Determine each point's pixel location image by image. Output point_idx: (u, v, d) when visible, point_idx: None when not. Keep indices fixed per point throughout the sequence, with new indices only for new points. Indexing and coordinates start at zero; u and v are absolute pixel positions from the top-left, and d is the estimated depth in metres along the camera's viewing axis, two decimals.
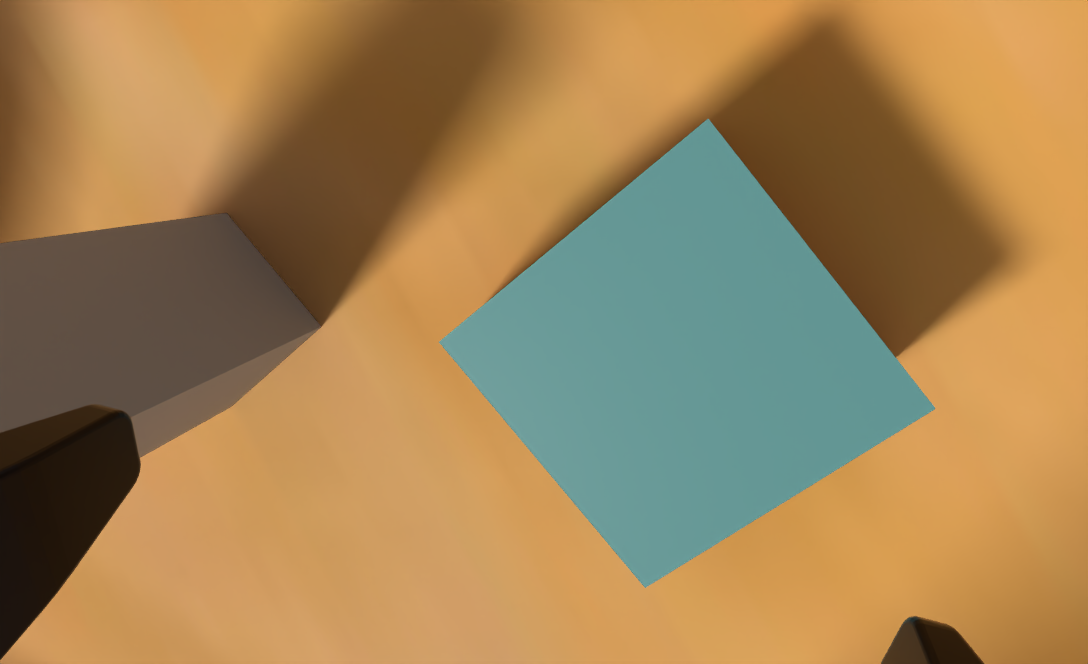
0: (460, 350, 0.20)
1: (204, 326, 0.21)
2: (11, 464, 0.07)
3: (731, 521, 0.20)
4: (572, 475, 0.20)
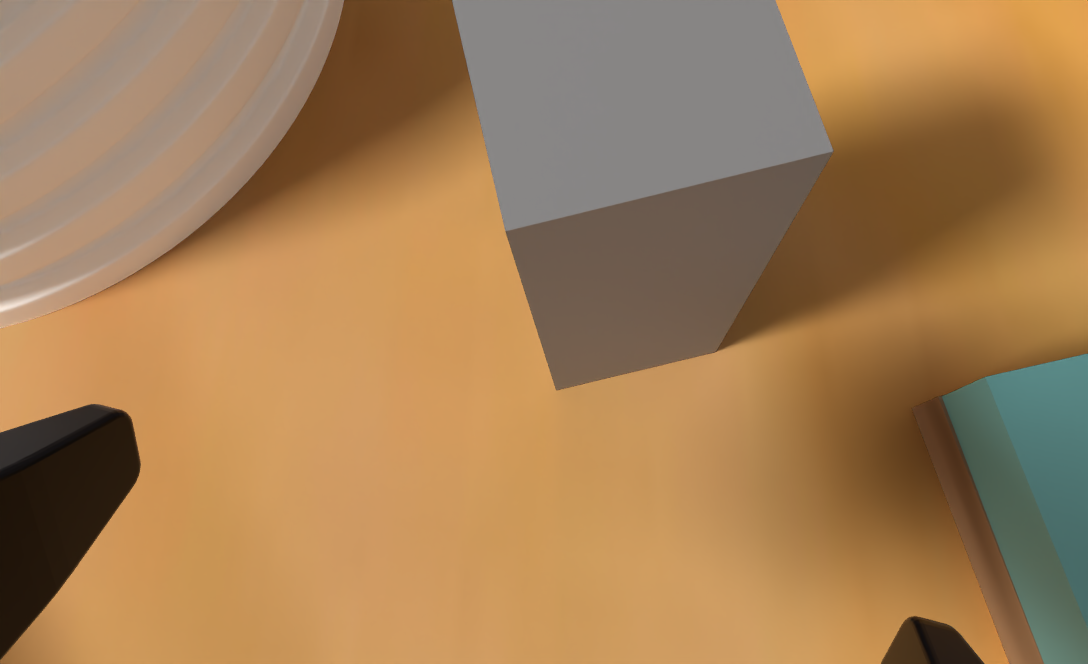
0: (1007, 395, 0.17)
1: None
2: (11, 464, 0.07)
3: None
4: None
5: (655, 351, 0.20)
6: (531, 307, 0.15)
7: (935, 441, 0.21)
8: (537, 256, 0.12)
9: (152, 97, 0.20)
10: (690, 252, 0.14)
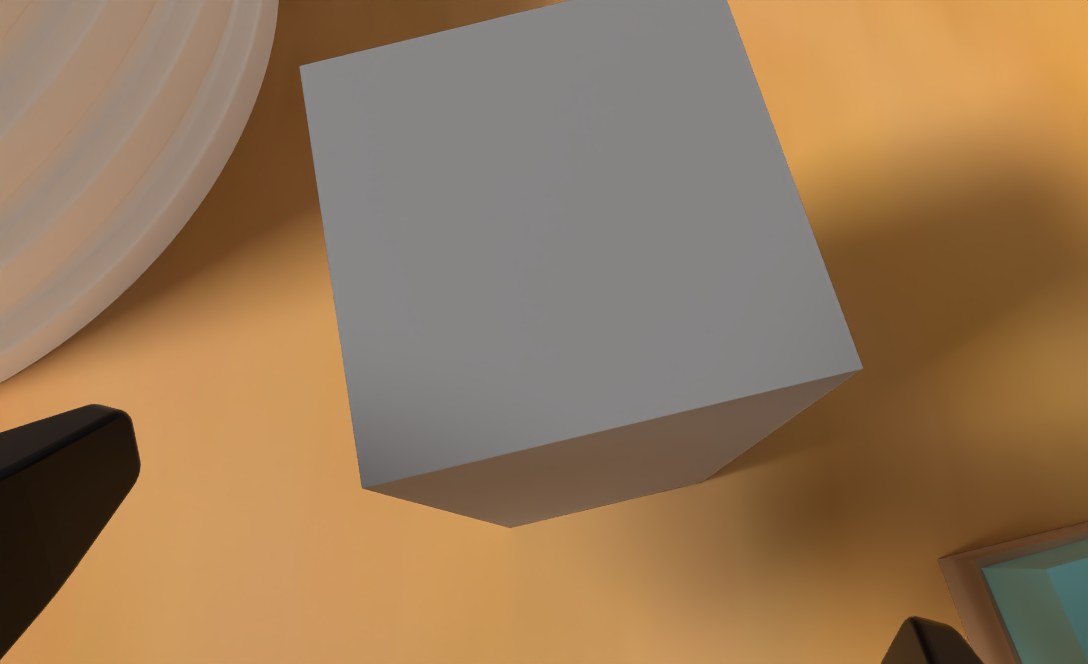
0: (1076, 595, 0.13)
1: None
2: (11, 464, 0.07)
3: None
4: None
5: (627, 494, 0.17)
6: (444, 509, 0.11)
7: (970, 608, 0.17)
8: (428, 490, 0.08)
9: (4, 185, 0.16)
10: (656, 451, 0.10)
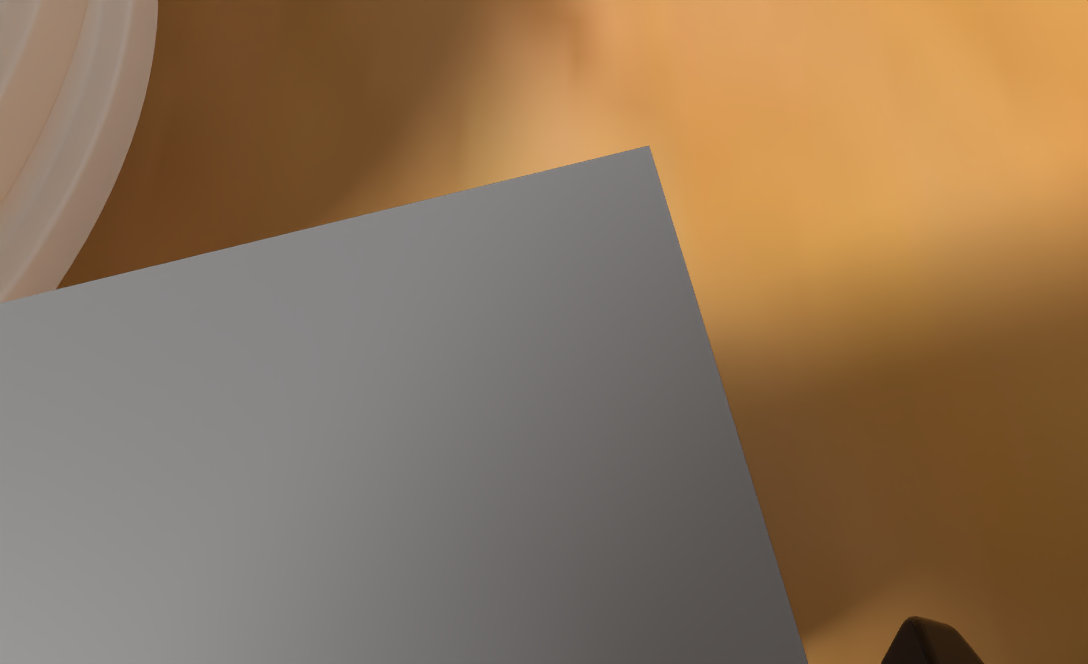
0: None
1: None
2: None
3: None
4: None
5: None
6: None
7: None
8: None
9: None
10: None
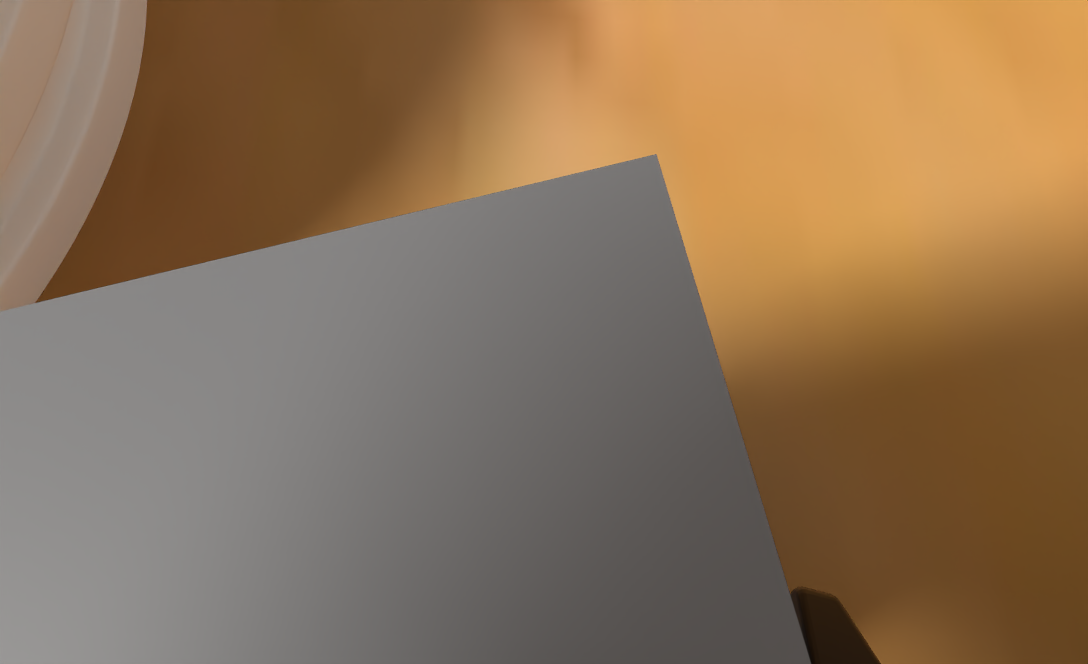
0: None
1: None
2: None
3: None
4: None
5: None
6: None
7: None
8: None
9: None
10: None
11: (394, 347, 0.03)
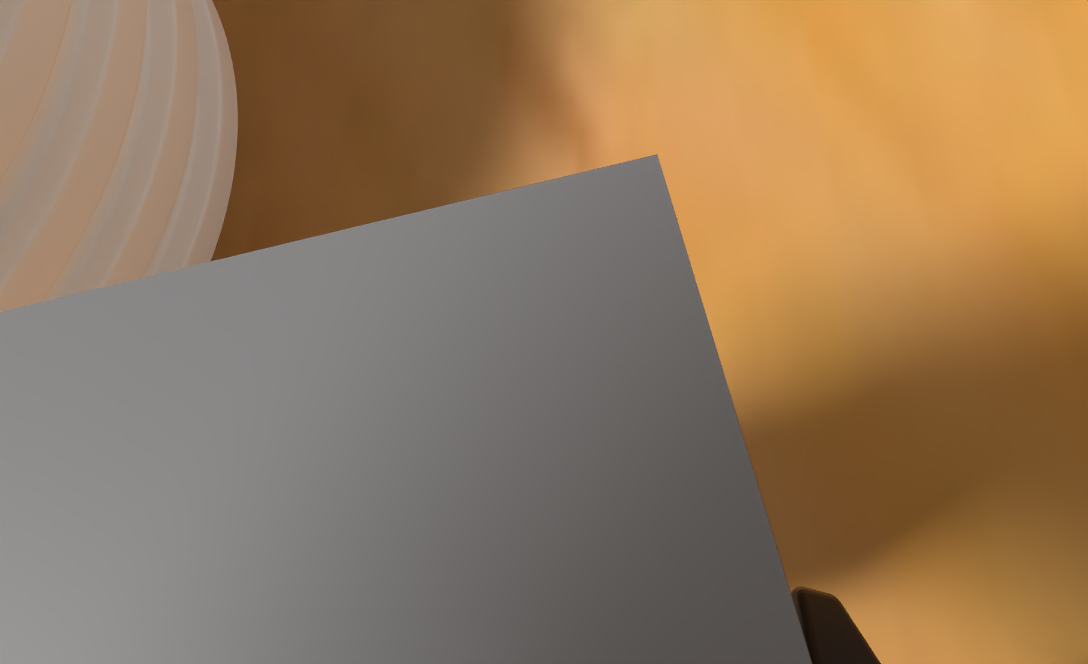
0: None
1: None
2: None
3: None
4: None
5: None
6: None
7: None
8: None
9: None
10: None
11: (397, 346, 0.03)
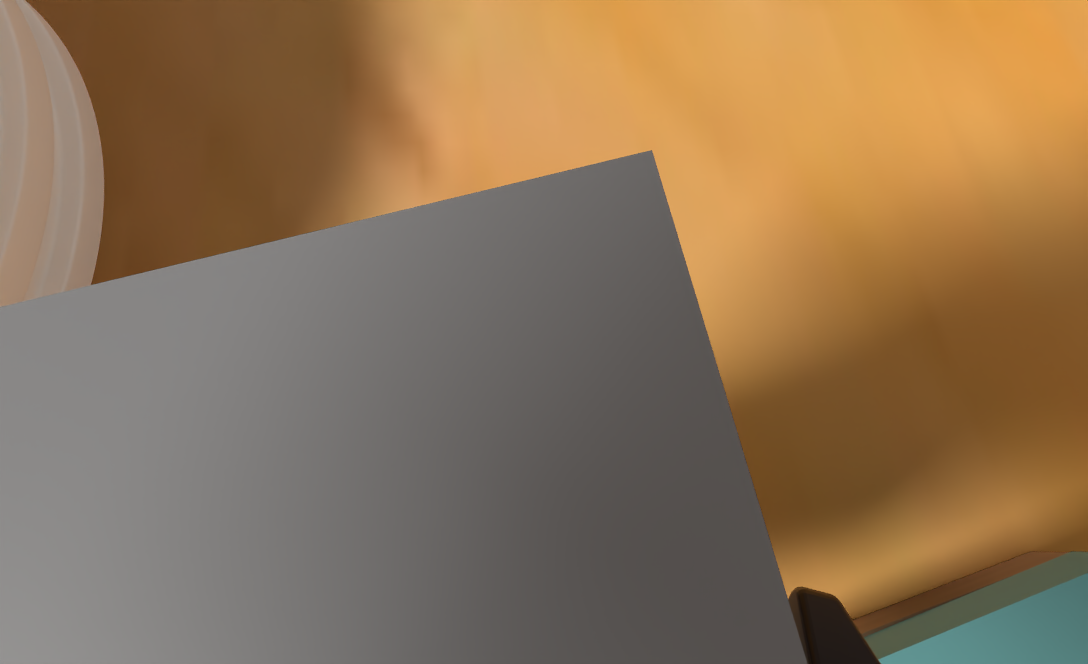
0: None
1: None
2: None
3: None
4: None
5: None
6: None
7: None
8: None
9: None
10: None
11: (391, 342, 0.03)
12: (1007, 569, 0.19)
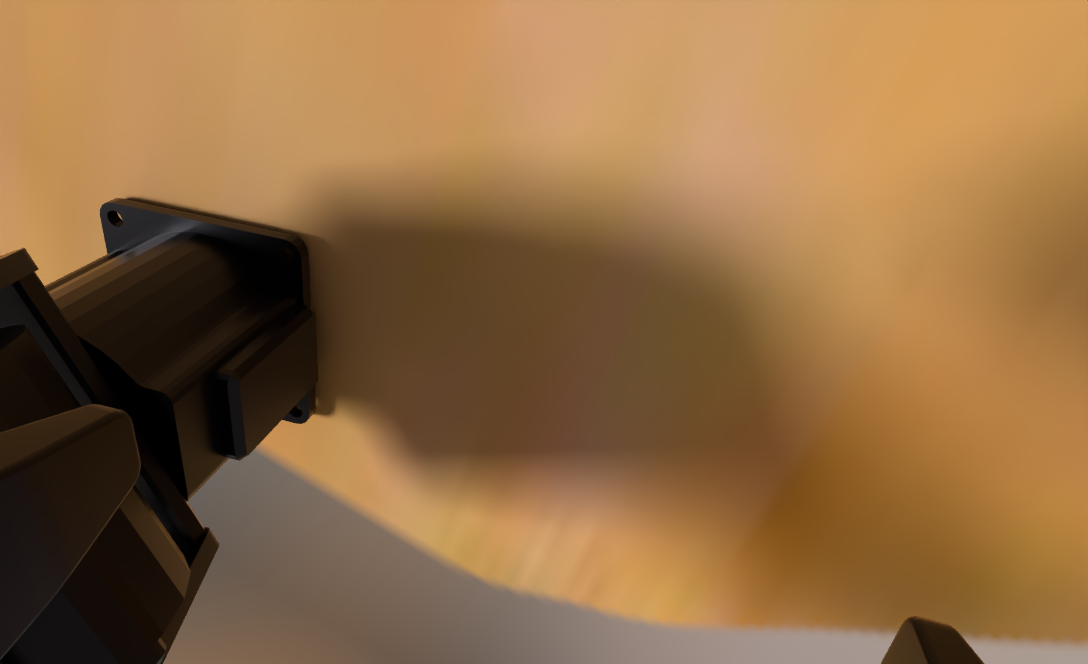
0: None
1: None
2: (11, 464, 0.07)
3: None
4: None
5: None
6: None
7: None
8: None
9: None
10: None
11: None
12: None
